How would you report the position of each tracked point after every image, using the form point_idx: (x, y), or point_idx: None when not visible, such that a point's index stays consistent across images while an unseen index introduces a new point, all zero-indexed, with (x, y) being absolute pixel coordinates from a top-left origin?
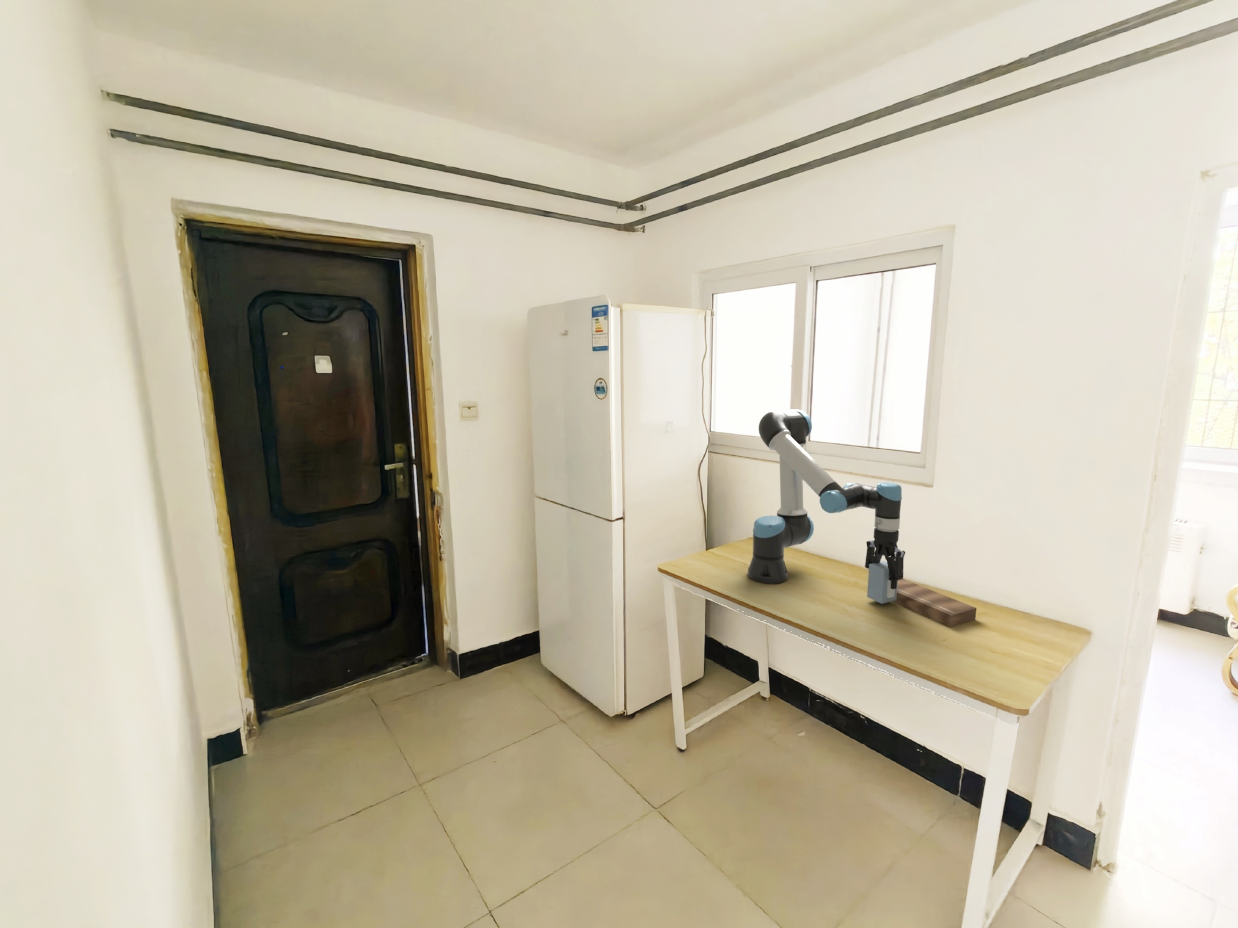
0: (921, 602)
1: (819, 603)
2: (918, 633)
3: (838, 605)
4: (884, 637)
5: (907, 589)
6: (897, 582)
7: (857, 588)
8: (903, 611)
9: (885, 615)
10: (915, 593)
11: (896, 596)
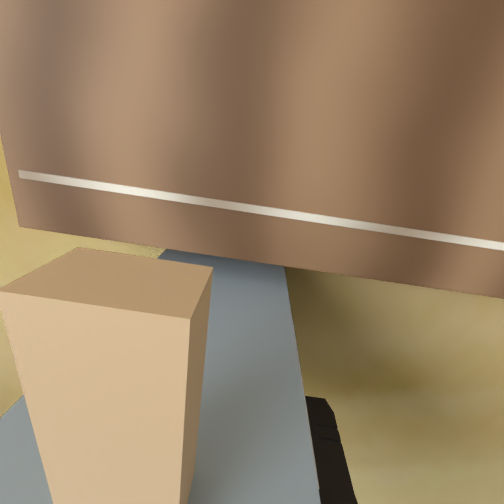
0: (490, 294)
1: None
2: (479, 419)
3: None
4: (393, 499)
5: (299, 129)
6: (297, 358)
7: (12, 222)
8: (349, 292)
9: (313, 383)
10: (394, 162)
11: (285, 276)
